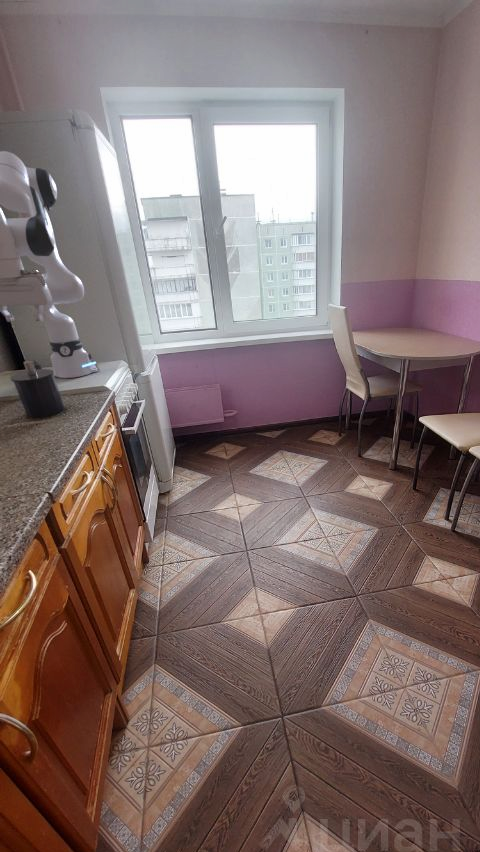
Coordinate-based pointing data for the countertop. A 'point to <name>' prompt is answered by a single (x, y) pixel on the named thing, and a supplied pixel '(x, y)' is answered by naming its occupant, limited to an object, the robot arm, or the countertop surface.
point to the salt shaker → (37, 365)
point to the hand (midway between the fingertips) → (25, 321)
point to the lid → (31, 373)
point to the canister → (40, 397)
